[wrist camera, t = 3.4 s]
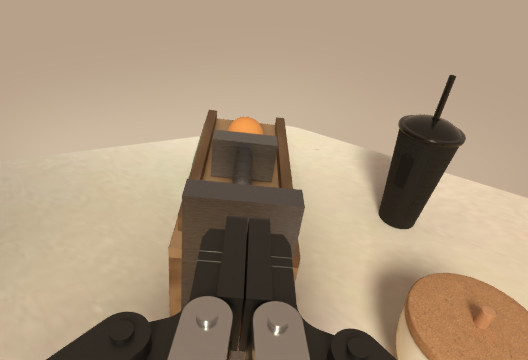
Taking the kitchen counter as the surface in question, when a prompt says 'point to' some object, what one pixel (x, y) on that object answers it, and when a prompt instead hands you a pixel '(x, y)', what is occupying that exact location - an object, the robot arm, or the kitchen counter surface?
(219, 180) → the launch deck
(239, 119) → the ball
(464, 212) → the kitchen counter surface
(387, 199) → the drinking cup
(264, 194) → the plunger
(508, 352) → the lidded jar
